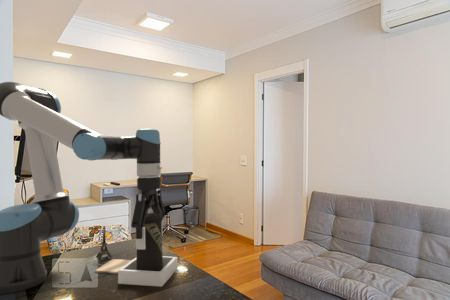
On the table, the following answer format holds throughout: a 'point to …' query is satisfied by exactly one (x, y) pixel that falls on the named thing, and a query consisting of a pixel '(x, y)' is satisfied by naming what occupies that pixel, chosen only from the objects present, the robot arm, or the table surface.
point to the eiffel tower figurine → (100, 253)
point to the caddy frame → (147, 273)
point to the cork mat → (112, 266)
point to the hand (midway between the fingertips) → (150, 242)
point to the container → (151, 245)
